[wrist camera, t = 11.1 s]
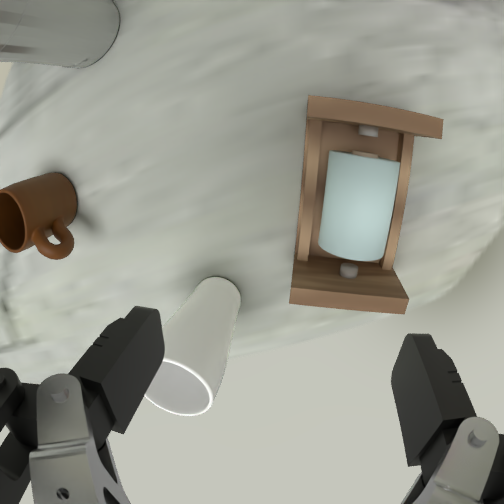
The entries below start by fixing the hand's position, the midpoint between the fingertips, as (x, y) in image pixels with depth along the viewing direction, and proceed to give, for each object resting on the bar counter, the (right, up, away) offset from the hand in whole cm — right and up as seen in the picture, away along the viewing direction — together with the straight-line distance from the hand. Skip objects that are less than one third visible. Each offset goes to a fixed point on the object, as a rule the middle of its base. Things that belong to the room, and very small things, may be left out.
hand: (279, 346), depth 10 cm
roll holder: (+9, +9, +19) cm, 23 cm away
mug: (-24, +9, +25) cm, 36 cm away
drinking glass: (-5, -2, +26) cm, 27 cm away
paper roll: (+9, +8, +18) cm, 22 cm away
